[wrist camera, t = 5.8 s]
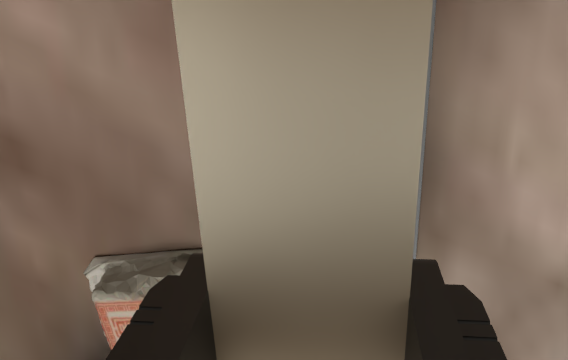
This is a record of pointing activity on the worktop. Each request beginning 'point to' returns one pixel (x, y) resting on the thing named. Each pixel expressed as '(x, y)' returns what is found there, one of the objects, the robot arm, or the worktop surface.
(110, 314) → the packaged product
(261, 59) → the slat
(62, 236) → the worktop surface
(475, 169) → the worktop surface
